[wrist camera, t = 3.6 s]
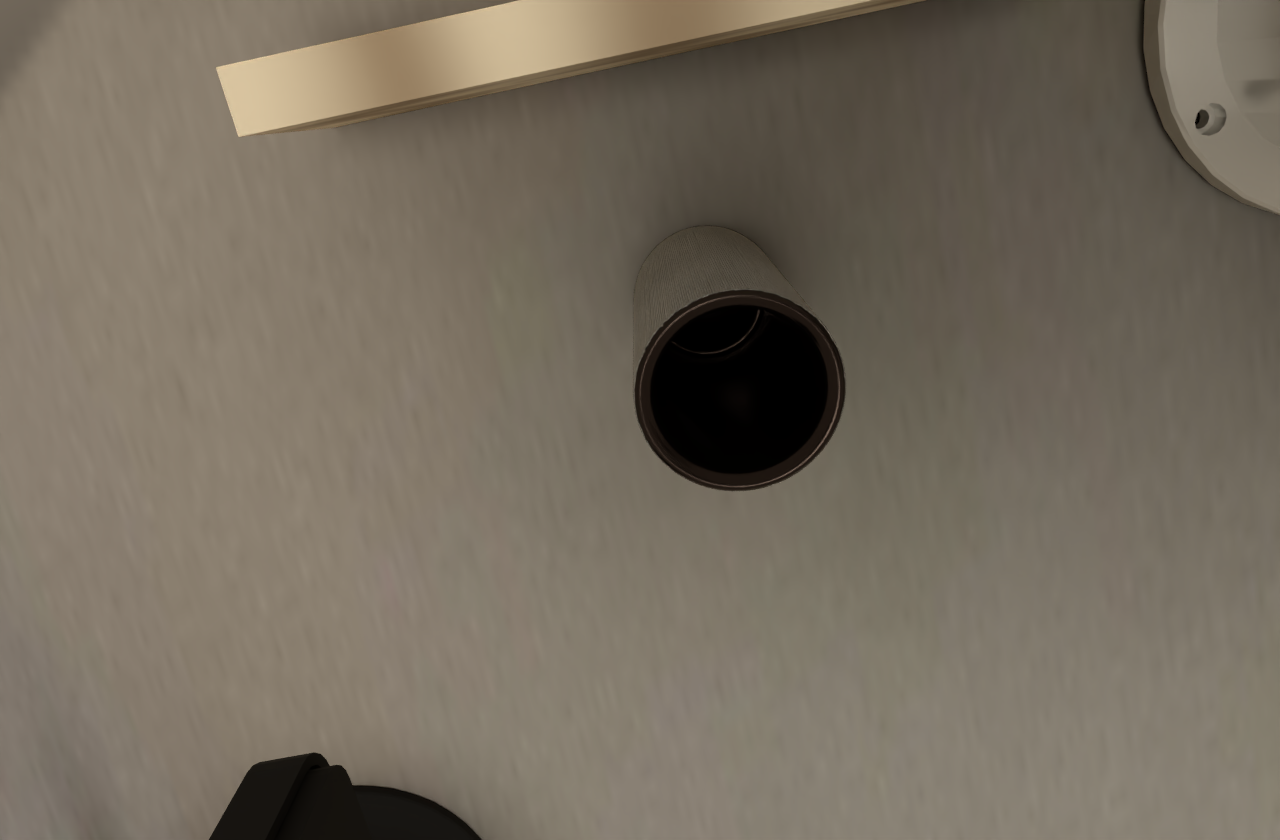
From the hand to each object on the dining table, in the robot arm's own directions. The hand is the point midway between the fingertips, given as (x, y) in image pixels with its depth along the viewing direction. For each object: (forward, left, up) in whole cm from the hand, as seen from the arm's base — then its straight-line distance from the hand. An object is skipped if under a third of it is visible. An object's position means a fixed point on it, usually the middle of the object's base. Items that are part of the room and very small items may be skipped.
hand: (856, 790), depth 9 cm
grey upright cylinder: (0, 0, -22) cm, 22 cm away
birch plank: (+4, -7, -22) cm, 23 cm away
